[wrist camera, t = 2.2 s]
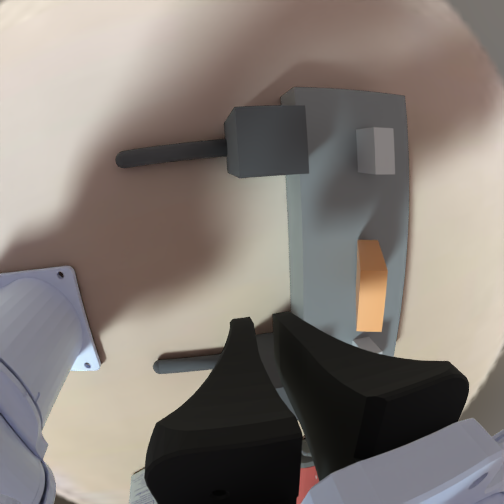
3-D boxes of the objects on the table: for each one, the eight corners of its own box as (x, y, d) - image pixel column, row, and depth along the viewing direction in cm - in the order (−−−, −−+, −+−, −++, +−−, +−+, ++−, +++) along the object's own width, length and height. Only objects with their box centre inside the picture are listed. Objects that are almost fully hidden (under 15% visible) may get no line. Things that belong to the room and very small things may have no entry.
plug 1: (120, 185, 18) (88, 196, 12) (116, 136, 17) (81, 127, 11) (277, 169, 19) (309, 173, 14) (274, 120, 18) (305, 105, 13)
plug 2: (158, 379, 22) (151, 437, 16) (149, 346, 21) (138, 402, 16) (284, 364, 23) (308, 418, 18) (284, 330, 22) (310, 382, 17)
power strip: (291, 378, 24) (310, 421, 19) (280, 96, 18) (306, 78, 13) (372, 360, 25) (401, 396, 20) (380, 101, 19) (424, 91, 14)
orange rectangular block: (355, 288, 19) (356, 331, 14) (357, 239, 18) (360, 270, 13) (375, 288, 18) (381, 331, 14) (378, 239, 18) (387, 270, 13)
